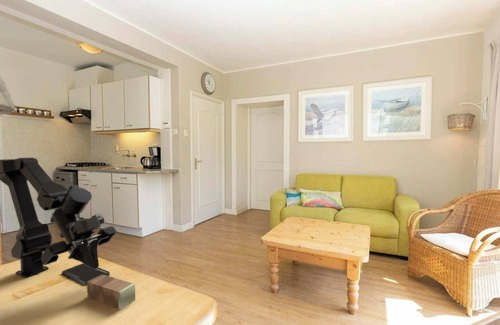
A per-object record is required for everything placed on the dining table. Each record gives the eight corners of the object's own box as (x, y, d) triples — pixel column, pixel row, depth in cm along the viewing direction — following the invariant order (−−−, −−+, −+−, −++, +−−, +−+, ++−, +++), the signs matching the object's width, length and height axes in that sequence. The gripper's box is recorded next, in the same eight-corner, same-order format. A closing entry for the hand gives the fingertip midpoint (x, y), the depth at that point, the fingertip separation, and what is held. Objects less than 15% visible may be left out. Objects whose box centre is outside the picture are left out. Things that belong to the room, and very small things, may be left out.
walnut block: (86, 281, 70) (120, 292, 65) (102, 274, 74) (134, 283, 69) (87, 297, 70) (120, 309, 65) (102, 289, 74) (135, 299, 69)
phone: (85, 262, 90) (111, 272, 83) (85, 265, 90) (111, 275, 83) (60, 271, 83) (85, 283, 76) (60, 275, 83) (85, 287, 76)
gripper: (45, 214, 64) (74, 265, 60) (112, 200, 81) (138, 239, 77) (29, 240, 68) (55, 290, 64) (96, 222, 85) (120, 260, 81)
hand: (96, 267), depth 71 cm, fingers closed
